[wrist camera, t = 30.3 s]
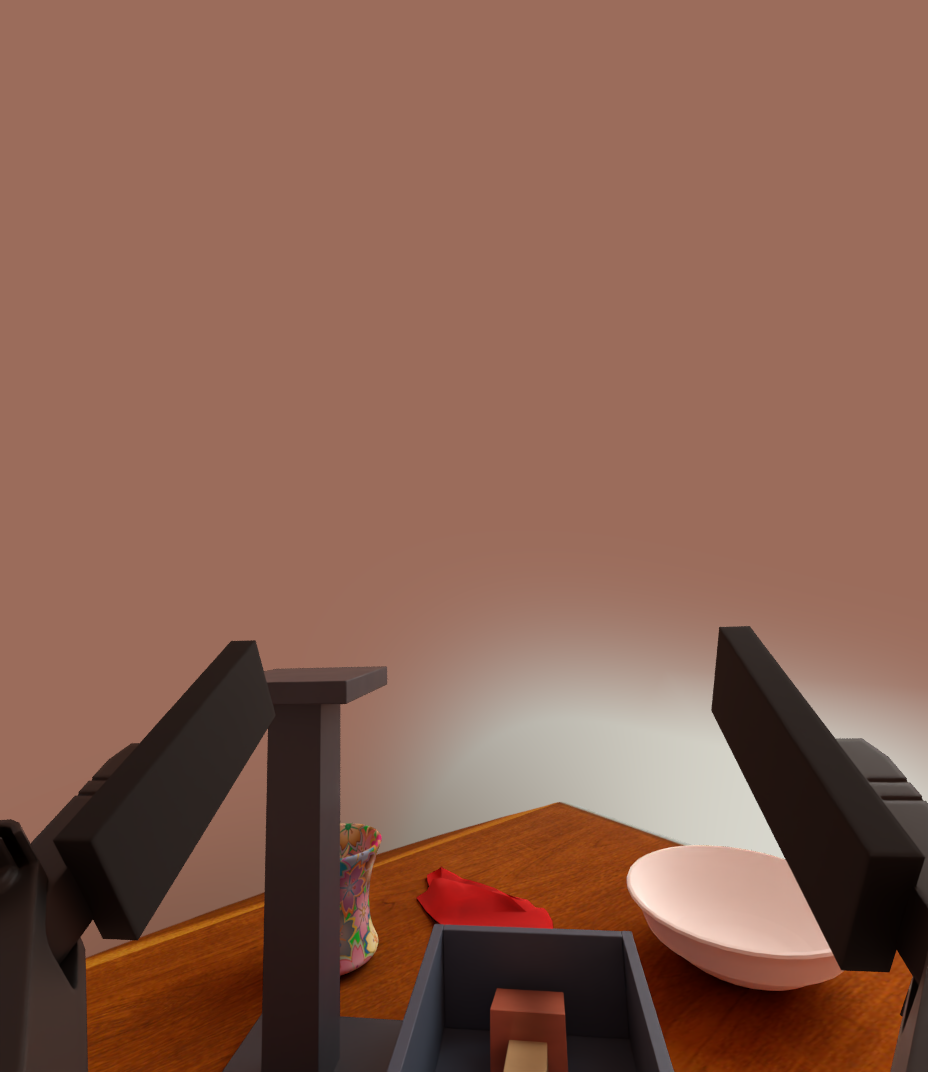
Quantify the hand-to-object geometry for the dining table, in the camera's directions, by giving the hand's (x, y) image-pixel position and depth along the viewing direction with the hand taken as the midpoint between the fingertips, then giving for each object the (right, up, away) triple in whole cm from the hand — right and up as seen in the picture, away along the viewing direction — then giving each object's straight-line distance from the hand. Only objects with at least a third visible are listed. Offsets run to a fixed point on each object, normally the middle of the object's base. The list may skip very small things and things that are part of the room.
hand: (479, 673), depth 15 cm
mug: (-13, -37, +36) cm, 53 cm away
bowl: (+25, -36, +34) cm, 55 cm away
